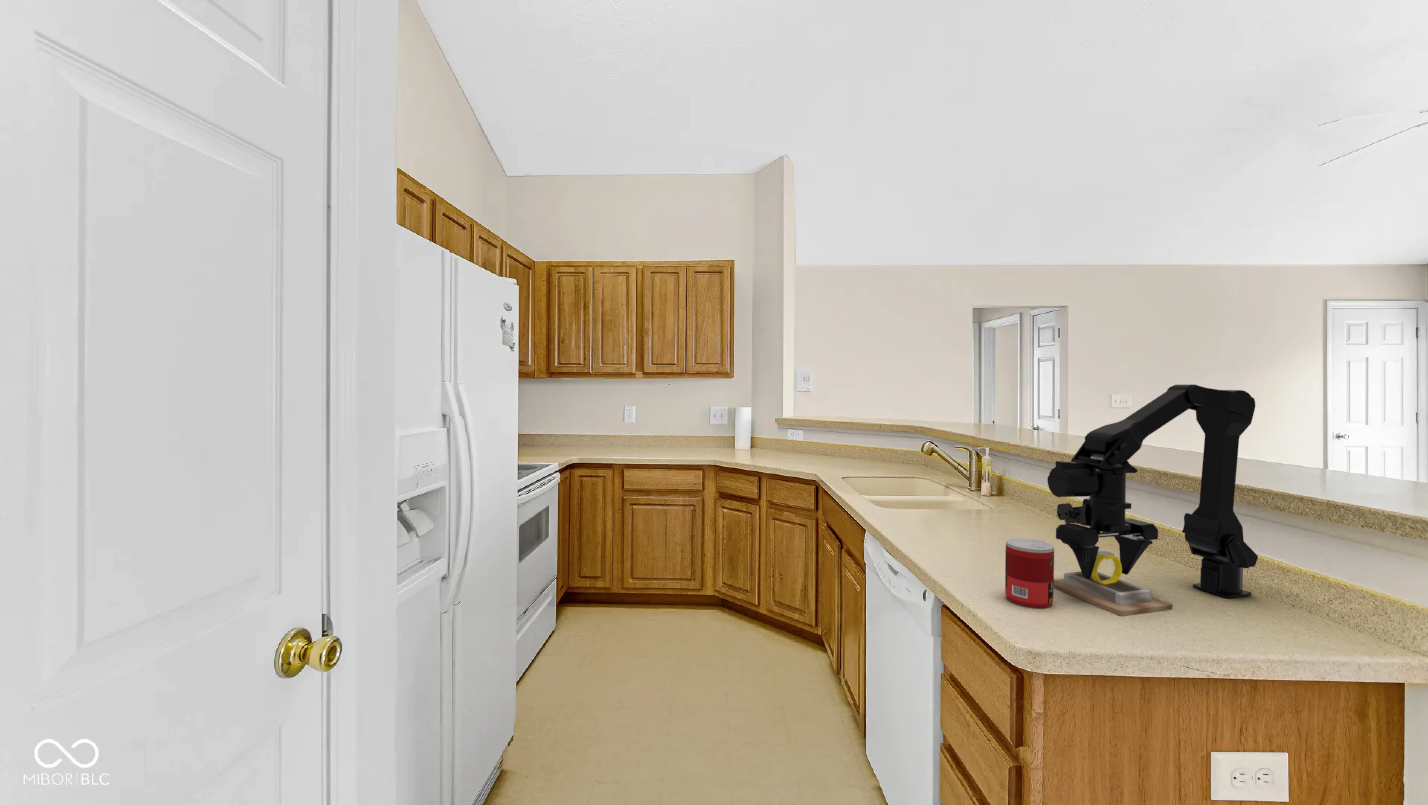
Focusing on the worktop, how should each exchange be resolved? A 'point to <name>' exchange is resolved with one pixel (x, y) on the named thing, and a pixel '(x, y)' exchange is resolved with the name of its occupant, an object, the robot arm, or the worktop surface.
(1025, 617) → the worktop surface
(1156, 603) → the track board
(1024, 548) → the canned food
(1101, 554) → the watch
